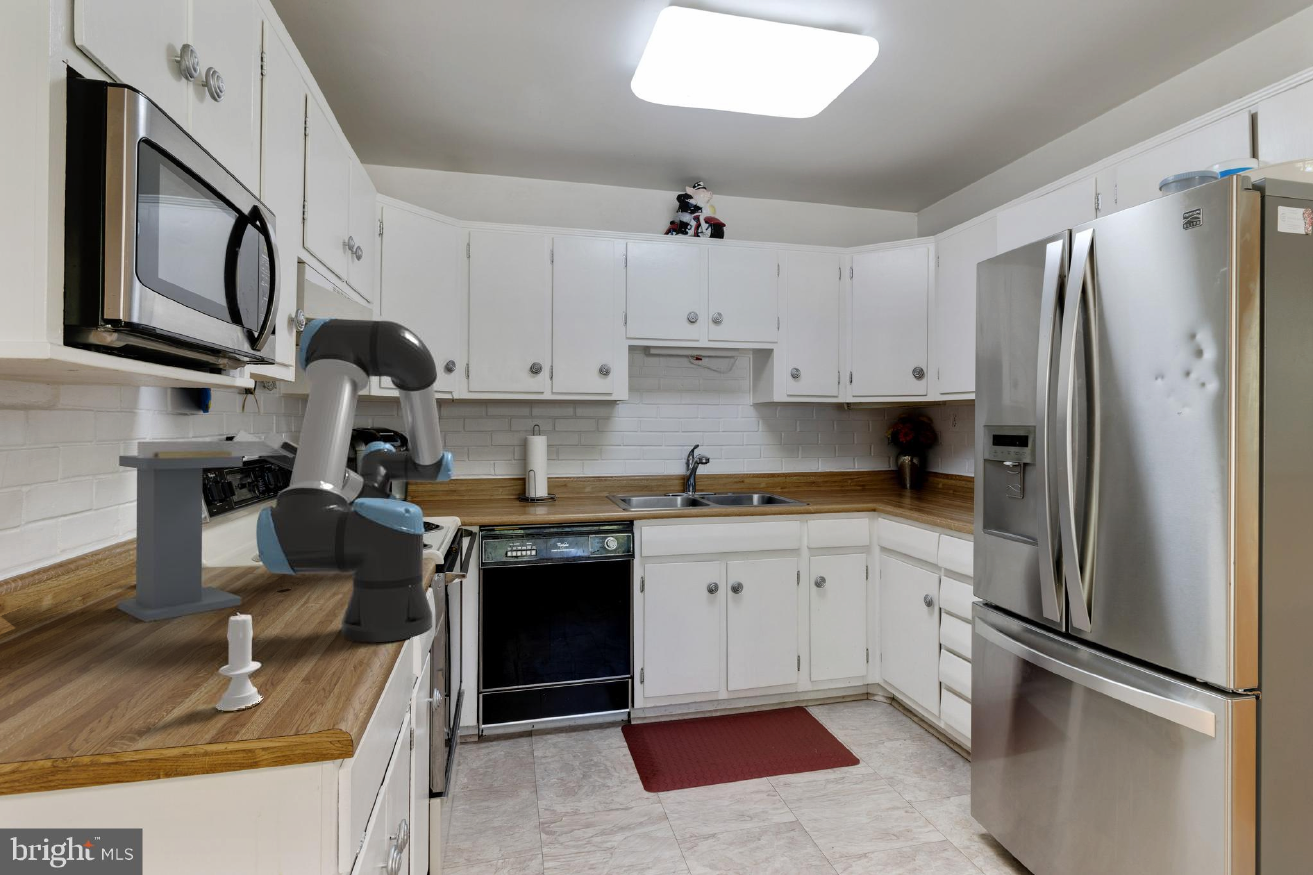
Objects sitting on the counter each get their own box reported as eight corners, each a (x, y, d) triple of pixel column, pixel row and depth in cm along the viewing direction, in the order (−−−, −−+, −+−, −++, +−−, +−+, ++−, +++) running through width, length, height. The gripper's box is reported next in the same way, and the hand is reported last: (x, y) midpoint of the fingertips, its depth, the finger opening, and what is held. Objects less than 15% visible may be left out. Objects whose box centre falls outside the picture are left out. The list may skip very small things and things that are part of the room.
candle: (208, 714, 84) (208, 619, 84) (225, 697, 89) (225, 608, 89) (255, 710, 85) (255, 617, 85) (269, 694, 91) (270, 606, 90)
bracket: (216, 455, 137) (216, 450, 137) (231, 456, 133) (231, 451, 133) (146, 456, 128) (146, 451, 128) (159, 458, 123) (159, 452, 123)
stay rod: (282, 454, 146) (282, 440, 146) (288, 455, 144) (289, 441, 144) (137, 457, 125) (137, 441, 125) (143, 458, 123) (143, 441, 123)
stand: (210, 593, 144) (211, 454, 144) (241, 604, 135) (242, 456, 135) (118, 608, 131) (119, 455, 131) (145, 622, 122) (146, 458, 122)
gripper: (358, 500, 146) (269, 453, 131) (301, 492, 160) (215, 449, 145) (374, 469, 149) (289, 420, 133) (316, 464, 163) (234, 419, 148)
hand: (250, 435), depth 139 cm, fingers open, 13 cm apart
